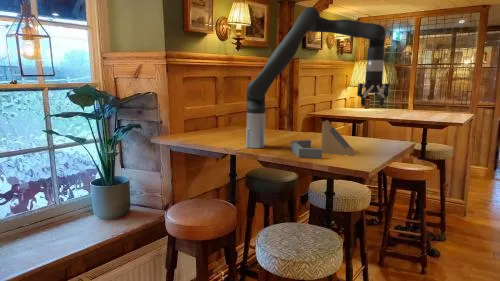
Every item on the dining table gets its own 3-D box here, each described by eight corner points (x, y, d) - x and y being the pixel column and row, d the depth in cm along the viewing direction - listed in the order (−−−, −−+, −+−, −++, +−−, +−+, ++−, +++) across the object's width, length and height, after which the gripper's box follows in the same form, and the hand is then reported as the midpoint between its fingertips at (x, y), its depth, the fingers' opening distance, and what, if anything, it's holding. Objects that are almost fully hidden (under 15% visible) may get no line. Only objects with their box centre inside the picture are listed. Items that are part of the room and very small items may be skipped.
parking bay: (299, 158, 157) (300, 149, 157) (289, 147, 181) (289, 139, 180) (323, 158, 158) (323, 149, 158) (309, 147, 182) (310, 139, 181)
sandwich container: (353, 156, 163) (356, 124, 160) (320, 153, 170) (322, 121, 167) (357, 153, 171) (359, 122, 168) (325, 149, 177) (327, 119, 175)
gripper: (385, 70, 170) (383, 105, 173) (356, 70, 168) (354, 105, 171) (393, 70, 162) (390, 106, 165) (362, 70, 161) (360, 106, 164)
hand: (372, 105), depth 168 cm, fingers open, 8 cm apart
